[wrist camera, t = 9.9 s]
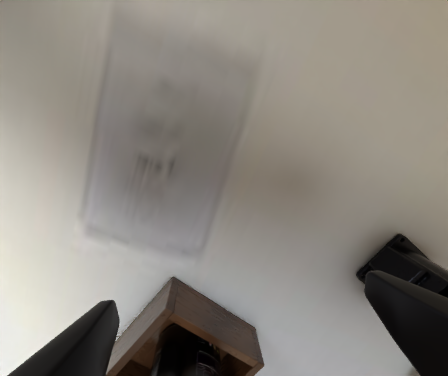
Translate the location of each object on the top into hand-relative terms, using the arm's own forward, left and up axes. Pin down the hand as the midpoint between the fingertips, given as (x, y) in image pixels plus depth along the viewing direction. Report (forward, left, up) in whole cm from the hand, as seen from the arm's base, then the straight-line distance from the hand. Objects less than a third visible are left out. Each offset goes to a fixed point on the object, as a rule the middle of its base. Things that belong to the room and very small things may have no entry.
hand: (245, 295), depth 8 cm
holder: (-8, +16, -13) cm, 22 cm away
